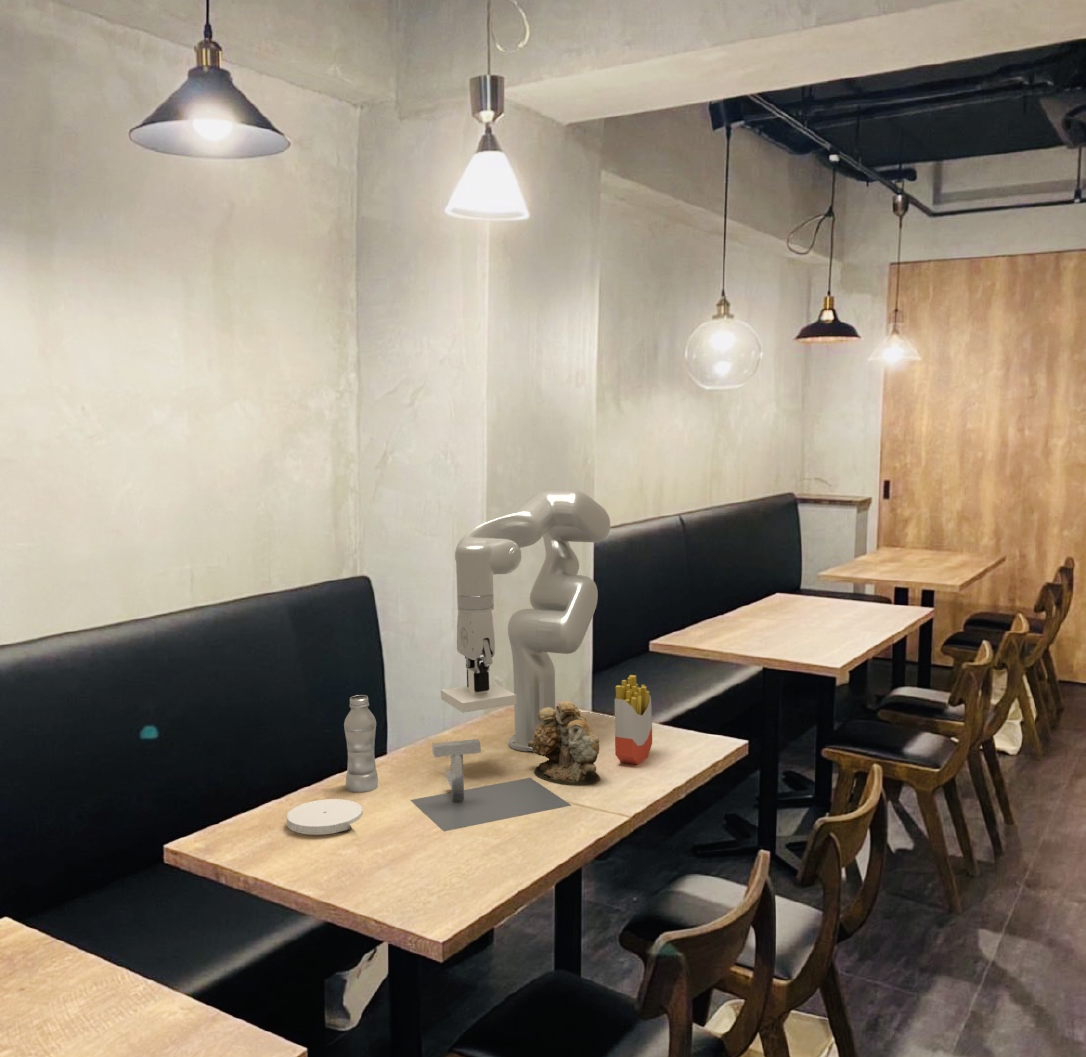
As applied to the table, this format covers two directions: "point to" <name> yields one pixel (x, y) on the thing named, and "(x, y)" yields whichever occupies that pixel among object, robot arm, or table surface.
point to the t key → (456, 762)
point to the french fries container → (632, 722)
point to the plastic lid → (324, 816)
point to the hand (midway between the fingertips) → (478, 688)
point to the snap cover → (477, 696)
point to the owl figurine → (565, 746)
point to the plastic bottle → (360, 746)
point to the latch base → (489, 804)
